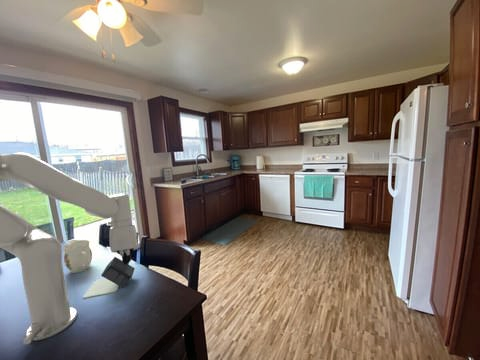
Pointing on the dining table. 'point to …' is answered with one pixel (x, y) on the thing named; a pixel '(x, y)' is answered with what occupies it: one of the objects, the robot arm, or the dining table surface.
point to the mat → (101, 288)
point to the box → (118, 272)
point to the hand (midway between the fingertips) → (127, 262)
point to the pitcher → (77, 255)
